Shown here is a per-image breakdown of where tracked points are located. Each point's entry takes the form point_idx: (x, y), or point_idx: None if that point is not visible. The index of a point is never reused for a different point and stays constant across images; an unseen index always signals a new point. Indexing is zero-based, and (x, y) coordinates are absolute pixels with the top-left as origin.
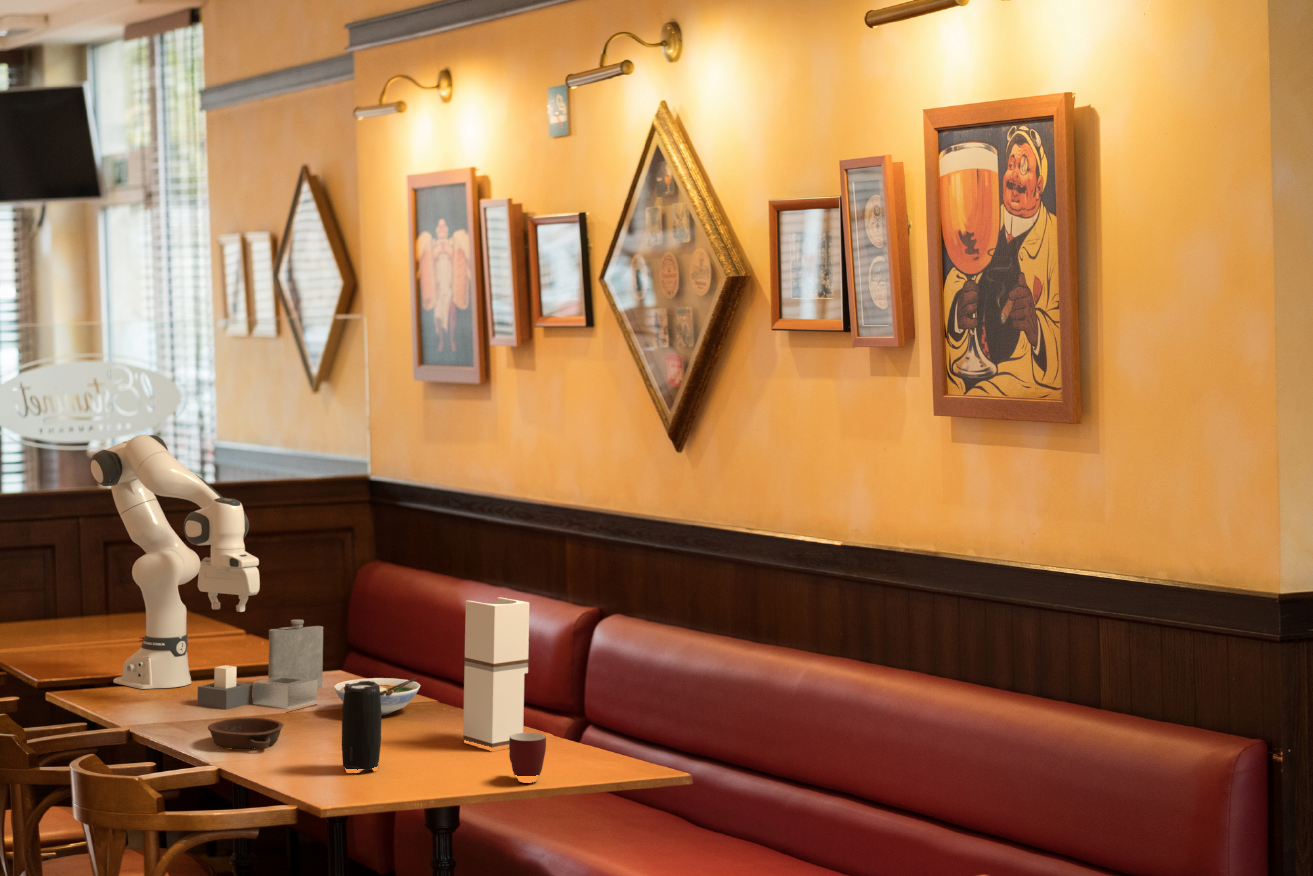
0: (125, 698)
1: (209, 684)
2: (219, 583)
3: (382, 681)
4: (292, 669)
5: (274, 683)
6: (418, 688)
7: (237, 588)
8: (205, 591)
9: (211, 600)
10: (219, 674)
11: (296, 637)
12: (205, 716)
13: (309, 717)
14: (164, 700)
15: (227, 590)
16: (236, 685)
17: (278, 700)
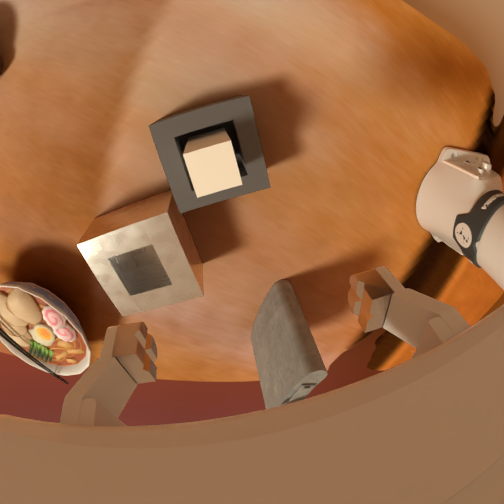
0: (418, 80)
1: (255, 134)
2: (373, 485)
3: (83, 363)
4: (268, 333)
5: (120, 239)
6: (20, 356)
7: (62, 475)
8: (489, 315)
9: (413, 298)
10: (208, 142)
11: (278, 386)
12: (162, 72)
13: (49, 228)
14: (363, 106)
15: (200, 452)
16: None
17: (107, 220)
